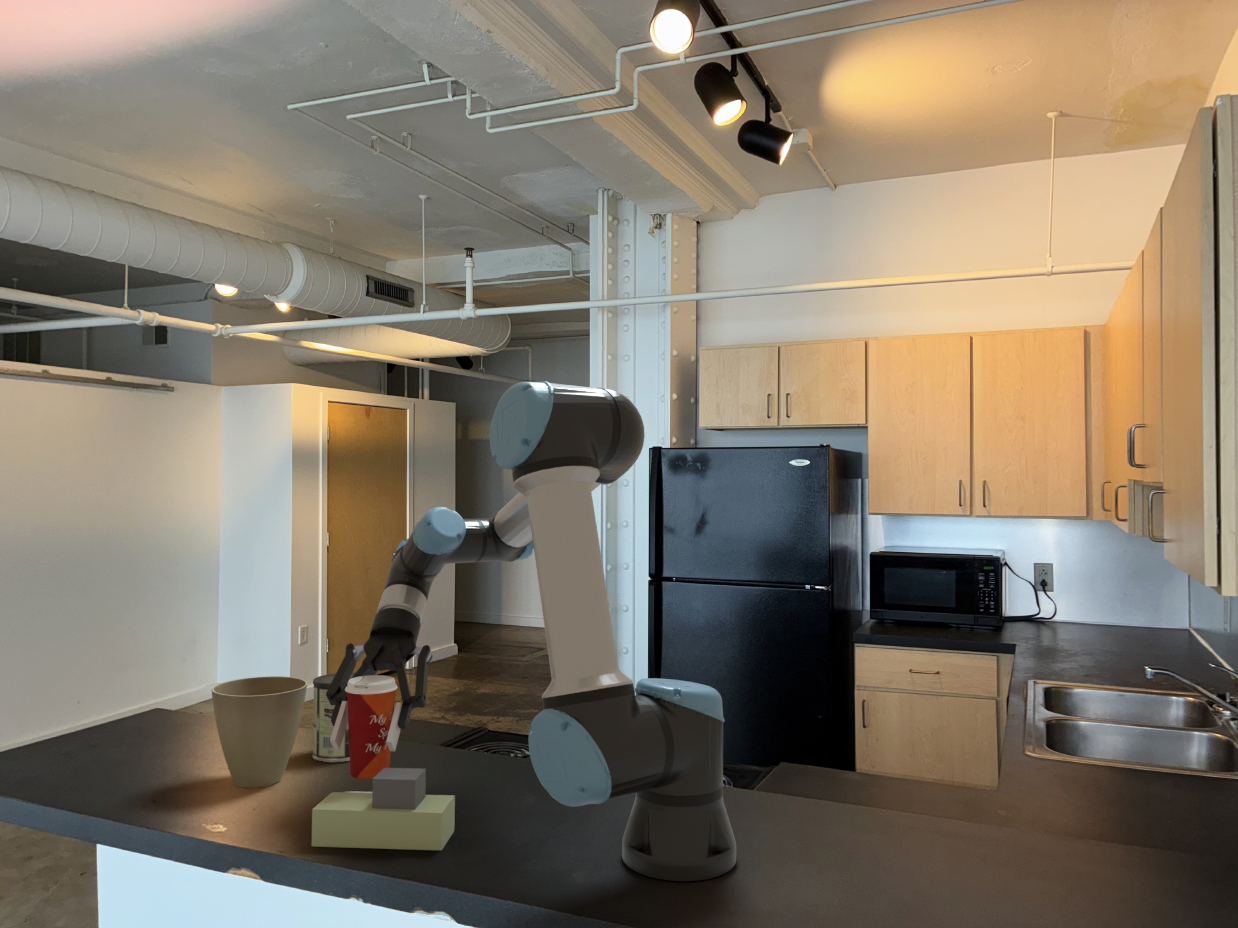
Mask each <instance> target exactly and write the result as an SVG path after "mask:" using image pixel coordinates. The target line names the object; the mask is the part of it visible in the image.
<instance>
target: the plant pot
mask: <svg viewBox="0 0 1238 928" xmlns="http://www.w3.org/2000/svg"><path fill="white" fill-rule="evenodd" d="M307 689H308V682H307V680H304V679H303V678H299V677H293V676H278V675H277V676H275V675H274V676H272V675H271V676H255V677H253V676H252V677H246V678H239V679H234V680H233V679H232V680H228V681H223V682H221V683H220V682H219V683H218V684H216V685H214V686H213V687H211V696H212V698H211V699H212V704H213V712H214V719H215V724H216V730H217V734H218V738H219V742H220V747H221V750H222V753H223V757H224V759H225V762H226V765H227V767H228V768H227V769H228V772H229V774H230V777H231V779H232V781H233V784H234V785H235V786H236V787H239V788H243V789H249V788H250V789H256V788H257V789H258V788H264V787H269V786H271V785H275V784H277V783H279V782H280V781H281V780H282V779H283V776H284V774H285V771H286V768H287V765H288V763H289V760H290V757H291V755H292V752H293V749H294V746H295V743H296V742H295V741H296V739H297V735H298V732H299V728H300V725H301V721H302V717H303V716H302V715H303V710H304V706H305V700H306V694H307Z"/></svg>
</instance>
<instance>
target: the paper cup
mask: <svg viewBox="0 0 1238 928" xmlns="http://www.w3.org/2000/svg"><path fill="white" fill-rule="evenodd" d="M398 686H399V685H397V683H396V679H395V677H393V676H388V675H383V674H382V675H381V674H379V675H378V674H375V675H369V676H360V677H355V678H352V679H350V680H349V681H348V685H347V687H346V688H345V691H346V692H347V703H348V730H349V754H350V761H349V769H350V771H349V772H350V776H351V778H354V779H357V780H373V778H374V777H375V776H376V775H377V774H378V773H379V772H380V771H381V770H383V769H384V768H391V767H390V766H391V765H390V764H391V753H392V751H390V750H389V748H388V745H387V743H386V740H387V736H388V733H389V729H390V725H391V721H392V718H393V714H394V710H395V703H396V702H395V701H396V690H398V688H399V687H398Z"/></svg>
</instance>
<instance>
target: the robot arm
mask: <svg viewBox="0 0 1238 928" xmlns="http://www.w3.org/2000/svg"><path fill="white" fill-rule="evenodd" d="M489 431H490V432H489V445H490V446H489V447H490V452H491V455H492V458H493V459H494V460H495V462H496V464H497V465H498V466H499V467H501V468H503V469H505V470H509V471H510V470H511V474H512V481H513V483H512V484H513V488H514V489H515V490H517V491H518V493H517V494H516V495H514V497H513V498H512V499H510V501H508V502H507V503H506V504H505V505H504V506H502V508H501V509H500V510H499V511H498V512H496V513H495V514H494V515H493V516H492V517H488V518H485V517H484V518H463V516H461V515H460V513H458V512H457V511H456V510H455V509H454V510H452V509H449V508H448V507H447V506H446V507H445V506H436V507H432V508H431V509H428V510H427V512H426V513H425V514H424V515H423V516H422V517H421V518H420V519H419V521H417V523H416V524H415V526H414V527H413V530H412V532H411V534H410V535H409V537H408V538H406V539H403V540H402V541H401V542H400V543H399V544H398V545H397V547H396V550H395V552H394V554H393V555H392V559H391V565H390V568H389V572H388V575H387V578H386V582H385V585H384V589H383V592H382V594H381V596H380V597H381V598H380V600H379V603H378V607H377V610H376V614H375V617H374V619H373V622H372V627H371V630H370V632H369V633H370V634H369V637H368V639H367V640H366V641H365V642H364V644H363V645H362V644H361V645H354V644H353V643H351V642H350V643H347V645H346V647H345V655H344V657H343V659H342V661H341V663H340V665H339V667H338V669H337V672H336V675H335V677H334V679H333V681H332V683H331V685H330V686H329V688H328V690H327V692H326V696H327V698H328V701H329V703H330V704H331V705H335V707H334V710H333V714H332V717H331V722H332V724H333V726H334V729H333V732H332V735H331V738H330V742H331V744H332V746H333V747H334V749H335V750H340V747H341V743H342V740H343V737H344V734H345V730H346V727H347V724H348V703H347V692H346V691H345V688H346V687H347V685H348V683H347V682H348V680H349V678H350V676H351V674H352V673H355V674H354V675H353V677H352V678H355V677H360V676H369V675H377V673H378V671H381V672H382V671H386V670H387V671H390V672H391V671H392V672H396V675H397V682H398V686H399V687H398V688H399V692H400V696H401V701H402V702H395V703H396V704H395V705H394V714H393V718H392V721H391V725H390V729H389V733H388V736H387V740H386V743H387V745H388V748H389V750H390V751H391V752H396V750H397V745H398V742H399V737H400V734H401V729H403V730H404V729H407V728H408V726H409V722H410V719H411V718H410V717H411V715H412V711H413V710H414V709H416V708H420V709H423V708H425V707H426V704H427V694H428V693H427V690H428V689H427V688H428V673H429V665H430V663H431V661H432V659H433V654H432V650H431V647H430V645H428V644H425V645H423V646H417V641H418V638H419V634H420V630H421V625H422V624H421V623H422V622H423V618H424V614H425V610H426V608H427V607H426V606H427V604H428V603H427V601H428V598H429V595H430V592H431V588H432V584H433V583H434V580H435V579H436V578H437V576H438V574H439V573H440V572H441V571H442V570H443V568H444V567H445V566H446V565H449V564H469V563H487V562H488V563H489V562H490V563H491V562H492V563H494V562H508V563H511V562H516V561H521V560H525V559H528V558H529V557H531V555H532V554H533V552H534V558H535V559H534V560H535V567H536V574H537V582H538V589H539V595H540V603H541V612H542V617H543V625H544V633H545V639H546V641H545V642H546V646H547V647H546V648H547V654H548V660H549V661H548V663H549V668H550V676H551V679H550V680H551V681H550V683H549V685H548V686H547V688H546V690H545V691H543V693H542V695H541V700H542V708H543V709H542V711H540V712H538V714H537V715H535V717H534V718H533V719H532V721H531V723H530V726H529V728H530V731H529V732H528V750H529V751H528V752H529V756H530V761H531V765H532V768H533V770H534V772H535V774H536V776H537V778H538V781H539V782H540V784H541V786H542V787H543V788H544V789H545V790H546V791H547V793H548V795H549V796H551V798H553V799H554V800H555V801H557V802H558V803H560V804H561V805H564V806H566V807H567V806H568V807H571V808H572V807H573V808H574V807H581V806H587V805H600V804H603V803H605V802H606V801H608V800H610V799H615V798H619V797H624V796H626V795H630V794H635V798H634V801H633V805H632V808H631V810H630V813H629V818H628V820H627V823H626V826H625V830H624V833H623V836H622V843H621V844H622V845H621V850H622V851H621V858H622V860H623V863H624V864H625V865H626V867H628V868H629V869H631V870H632V871H634V872H636V873H638V874H641V875H643V876H646V877H650V878H653V879H657V880H662V881H672V882H673V881H674V882H693V881H694V882H696V881H703V880H710V879H714V878H716V877H720V876H722V875H724V874H726V873H728V872H729V871H731V870H732V869H733V868H734V867H735V865H736V863H737V842H736V839H735V835H734V832H733V828H732V824H731V822H730V818H729V815H728V812H727V809H726V805H725V802H724V734H725V733H724V728H725V726H724V725H725V724H724V723H725V721H726V720H725V718H724V710H723V709H724V708H723V699H722V696H721V694H720V692H719V690H717V689H716V688H713V687H712V686H710V685H705V684H701V683H699V682H698V683H697V682H694V681H687V680H681V679H680V680H679V679H669V678H657V677H654V678H652V677H651V678H650V677H649V678H642V679H639V680H638V681H637V682H636V684H635V686H634V682H633V680H632V679H631V678H630V677H629V676H628V675H626V674H624V673H623V671H621V669H620V668H619V662H618V655H617V649H616V643H615V637H614V630H613V629H614V628H613V623H612V616H611V611H610V610H611V609H610V604H609V596H608V590H607V585H606V578H605V572H604V571H605V570H604V565H603V557H602V553H601V545H600V539H599V533H598V525H597V521H596V514H595V513H596V512H595V506H594V501H593V500H594V499H593V494H592V492H593V491H595V489H597V488H598V487H600V485H602V486H603V485H605V486H606V485H610V484H612V483H614V482H616V481H617V480H619V479H620V478H621V477H623V476H624V475H625V474H626V473H627V472H628V471H629V470H630V469H631V468H632V467H633V466H634V465H635V464H636V462H637V461H638V459H639V457H640V456H641V453H642V451H643V448H644V445H645V444H644V443H645V425H644V422H643V419H642V416H641V414H640V411H639V410H638V408H637V407H636V405H635V404H634V402H632V400H630V399H629V398H628V397H627V396H625V395H624V394H623V393H620V392H618V391H617V390H614V389H610V388H607V387H592V386H590V387H588V386H580V385H571V384H561V383H553V382H549V381H545V380H542V381H539V382H537V381H519V382H518V383H515V384H513V385H511V386H510V387H509V388H508V389H507V390H506V391H505V392H504V393H503V394H502V395H501V398H500V399H499V401H498V402H497V405H496V407H495V410H494V412H493V415H492V418H491V423H490V429H489ZM364 654H365V658H364V659H363V660H362V661H361V663H362V664H361V665H360V667H359V668H358V669H357V670H356V672H354V670H355V668H356V665H357V662H358V661H360V659H361V656H362V655H364ZM414 656H415V657H416V660H417V662H416V663H417V664H416V665H417V666H416V678H415V687H414V688H415V690H414V695H412V694H411V689H410V683H409V681H408V676H407V670H406V665H405V664H407V663H408V662H409V661H410V660H411V659H413V657H414ZM352 678H351V679H352Z"/></svg>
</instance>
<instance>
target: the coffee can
mask: <svg viewBox="0 0 1238 928" xmlns="http://www.w3.org/2000/svg"><path fill="white" fill-rule="evenodd" d="M336 673H337V672H336ZM336 673H329V674H323V675H320V676H316V677H314V678H313V679H312V685H313V712H312V713H313V720H312V721H313V722H312V723H313V724H312V727H313V728H312V729H313V730H312V731H313V734H312V759H314V760H315V759H316V760H315V761H317V760H318V762H321V761H323V762H322V763H344V762H345V761H346V762H350V754H349V730H348V724H347V727H346V730H345V734H344V737H343V740H342V743H341V747H340V750H335V749H334V747H333V746H332V744H331V742H330V738H331V735H332V732H333V729H334V726H333V724H332V722H331V717H332V714H333V710H334V707H335V705H331V704H330V703H329V701H328V698H327V696H326V692H327V690H328V688H329V686H330V685H331V683H332V681H333V679H334V677H335V675H336ZM355 673H356V672H352V674H351V676H350V678H349V680H350V679H351V678H352V677H353V675H354V674H355ZM349 680H348V681H349ZM347 683H348V682H347ZM346 762H345V763H346Z"/></svg>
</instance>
